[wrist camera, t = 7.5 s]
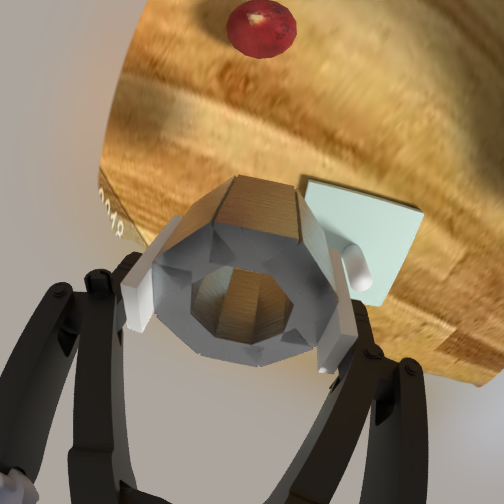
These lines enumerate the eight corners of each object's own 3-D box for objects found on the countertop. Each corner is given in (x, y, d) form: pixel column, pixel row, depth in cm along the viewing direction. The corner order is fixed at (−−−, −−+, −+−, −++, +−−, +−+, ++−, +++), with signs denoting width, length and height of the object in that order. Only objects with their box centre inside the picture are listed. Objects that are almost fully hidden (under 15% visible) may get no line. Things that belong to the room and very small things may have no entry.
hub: (195, 167, 15) (151, 209, 10) (336, 196, 15) (360, 252, 10) (186, 279, 20) (157, 344, 14) (299, 302, 20) (301, 373, 14)
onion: (277, 3, 19) (273, -26, 12) (306, 48, 22) (313, 31, 15) (224, 28, 21) (202, 7, 14) (252, 72, 23) (240, 63, 17)
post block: (308, 178, 29) (313, 201, 23) (421, 210, 29) (445, 237, 23) (280, 284, 36) (278, 320, 31) (378, 301, 36) (389, 336, 30)
